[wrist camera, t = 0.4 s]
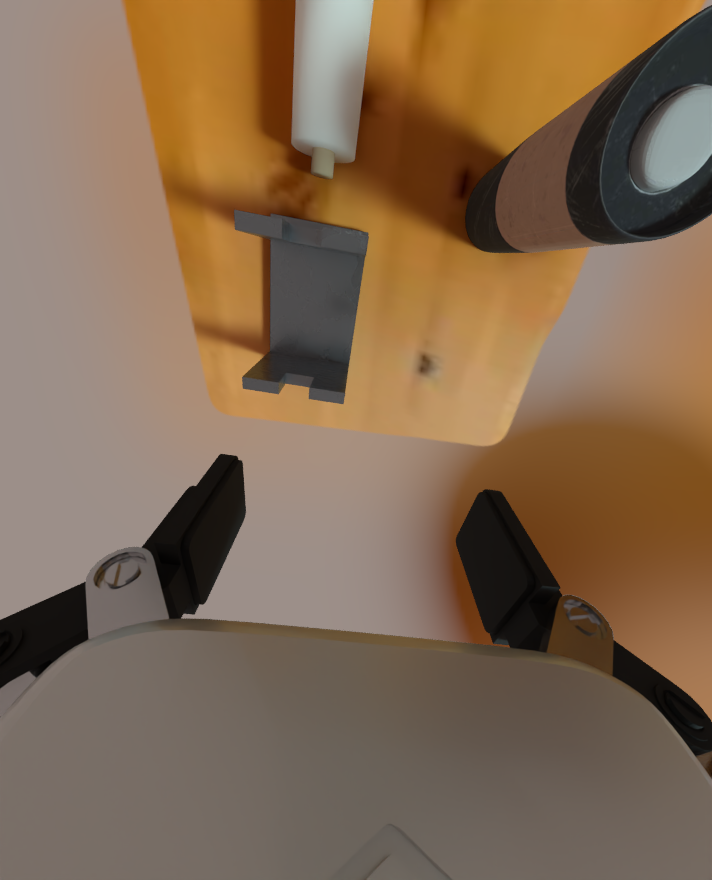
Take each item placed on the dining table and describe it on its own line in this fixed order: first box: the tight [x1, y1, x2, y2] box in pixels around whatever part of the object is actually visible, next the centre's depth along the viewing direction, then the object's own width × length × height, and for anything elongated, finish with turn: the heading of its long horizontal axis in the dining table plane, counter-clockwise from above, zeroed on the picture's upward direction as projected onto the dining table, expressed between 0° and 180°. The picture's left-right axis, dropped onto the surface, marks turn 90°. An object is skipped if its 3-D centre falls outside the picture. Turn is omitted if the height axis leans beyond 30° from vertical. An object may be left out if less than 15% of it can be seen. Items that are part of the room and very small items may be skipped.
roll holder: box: [234, 210, 369, 404], centre depth 30 cm, size 16×10×11 cm, turn 171°
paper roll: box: [291, 0, 373, 179], centre depth 23 cm, size 13×6×6 cm, turn 171°
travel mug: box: [465, 5, 712, 253], centre depth 21 cm, size 8×8×20 cm
